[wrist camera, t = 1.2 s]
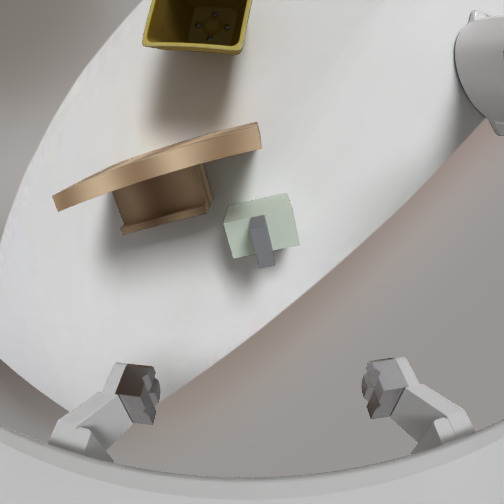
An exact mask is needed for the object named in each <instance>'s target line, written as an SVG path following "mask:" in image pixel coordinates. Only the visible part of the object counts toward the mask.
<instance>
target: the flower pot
mask: <svg viewBox="0 0 504 504" xmlns="http://www.w3.org/2000/svg"><path fill="white" fill-rule="evenodd" d="M251 4H252V0H152V2H151V6H150V10H149V14H148V18H147V22H146V26H145V30H144V34H143V40H142V44H143V46H145V47H151V48H157V49H163V50H186V51H203V52H215V53H224V54H231V55H237V54H239V53H240V52H241V51H242V48H243V45H244V38H245V33H246V28H247V23H248V18H249V13H250V9H251ZM214 12H217V13H218V15H217V16H213V13H214ZM197 23H200V24H201V26H200V27H196V24H197ZM226 25H229V26H230V28H229V29H225V26H226ZM209 36H212V38H213V39H212V40H211V41H209V40H208V37H209Z"/></svg>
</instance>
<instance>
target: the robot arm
mask: <svg viewBox="0 0 504 504" xmlns="http://www.w3.org/2000/svg"><path fill="white" fill-rule="evenodd" d="M455 61H456V67H457V72H458V75H459V78H460V81H461V84H462V86H463V88H464V90H465V92H466V94H467V96H468V98H469V99H470V101H471V102H472V103H473V105H474V106H475V107H476V108H477V109H478V110H479V111H480V112H481V113H482V114H483V115H484V116H485V117H486V118H487V119H488V120H489V122H490V124H491V126H492V128H493V129H494V131H495V133H496V134H497V135H499V136H504V15H500V16H492V15H490V14H488V13H486V12H484V11H482V10H480V9H477V10H473V11H472V13H471V16H470V21H469V23H468V24H467V25H466V26H465V27H464V28H463V29H462V30H461V31H460V33H459V35H458V37H457V40H456V45H455ZM366 369H367V373H366V374H365V375H364V376H363V379H362V393H363V396H364V398H365V399H366V400H368V401H369V402H368V405H367V408H368V412H369V415H370V418H371V419H376V418H382V417H388V416H390V417H391V418H392V419H393V420H394V421H395V422H396V423H397V424H398V425H400V426H401V427H402V428H403V429H404V430H405V431H406V432H407V433H408V434H409V435H410V436H412V437H413V438H414V439H415V440H416V441H417V442H418V444H417V445H416V447H415V448H414V450H413V451H412V452H411V455H408V456H405V457H401V458H397V459H393V460H389V461H385V462H381V463H377V464H372V465H367V466H362V467H357V468H351V469H345V470H338V471H332V472H324V473H316V474H307V475H297V476H296V475H295V476H280V477H211V476H197V475H186V474H185V475H184V474H176V473H168V472H161V471H153V470H147V469H141V468H136V467H131V466H125V465H120V464H116V463H114V461H113V459H112V458H111V457H110V456H109V454H108V453H107V452H106V450H107V449H108V448H109V447H110V446H111V445H112V444H113V443H114V442H115V441H116V440H117V439H118V438H119V437H120V436H121V435H122V434H123V433H124V432H125V431H126V430H127V429H128V428H129V427H130V426H131V425H132V424H133V423H140V424H149V425H153V422H154V419H155V415H156V410H155V407H154V406H155V405H156V404H158V403H159V399H160V385H159V381H158V380H157V379H156V378H155V373H156V372H155V370H154V367H152V366H144V365H135V364H126V363H118V362H117V363H116V364H115V365H114V366H113V369H112V371H111V373H110V375H109V378H108V380H107V382H106V384H105V387H104V389H103V391H102V392H98V393H97V394H95V395H94V396H92V397H91V398H89V399H88V400H87V401H85V402H84V403H82V404H81V405H79V406H78V407H77V408H75V409H74V410H72V411H71V412H69V413H68V414H66V415H65V416H64V417H62V418H61V419H59V420H58V422H57V424H56V426H55V429H54V431H53V433H52V435H51V437H50V440H49V442H48V444H46V443H43V442H41V441H38V440H35V439H33V438H31V437H28V436H26V435H23V434H20V433H18V432H16V431H14V430H12V429H9V428H7V427H5V426H3V425H1V424H0V504H504V419H503V420H501V421H499V422H497V423H495V424H492V425H491V426H488V427H486V428H484V429H481V430H479V431H477V432H475V430H474V428H473V426H472V424H471V422H470V420H469V418H468V416H467V414H466V413H465V411H464V409H462V408H460V407H459V406H457V405H456V404H454V403H452V402H451V401H449V400H448V399H446V398H444V397H443V396H441V395H440V394H438V393H437V392H435V391H433V390H432V389H430V388H429V387H427V386H426V385H424V384H420V383H419V381H418V380H417V378H416V376H415V374H414V372H413V370H412V368H411V366H410V364H409V362H408V361H407V359H406V357H404V356H401V357H394V358H388V359H381V360H374V361H369V362H368V364H367V367H366Z"/></svg>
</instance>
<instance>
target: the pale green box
mask: <svg viewBox="0 0 504 504" xmlns="http://www.w3.org/2000/svg"><path fill="white" fill-rule="evenodd" d="M223 225H224V228H225V232H226V235H227V238H228V242H229V245H230V249H231V252H232V255H233V259H234V258H239V257H244V256H249V255H253V254H256V256H257V259H258V263H259V267H260V268H264V267H269V266H274V256H273V250H278V249H283V248H287V247H292V246H297V245H300V244H299V239H298V234H297V229H296V223H295V218H294V213H293V208H292V205H291V203H290V200H289V197H288V194H287V193H283V194H278V195H274V196H269V197H264V198H260V199H255V200H251V201H246V202H242V203H238V204H233V205H229V206H228V209H227V212H226V216H225V219H224V222H223Z"/></svg>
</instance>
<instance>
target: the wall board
mask: <svg viewBox="0 0 504 504" xmlns="http://www.w3.org/2000/svg"><path fill="white" fill-rule="evenodd" d="M258 149H262V147H261V137H260V132H259V128H258V123H257V122H255V123H250V124H246V125H242V126H238V127H234V128H230V129H226V130H222V131H218V132H214V133H210V134H207V135H203V136H200V137H196V138H193V139H189V140H186V141H182V142H179V143H176V144H173V145H170V146H166V147H163V148H160V149H157V150H154V151H151V152H148V153H145V154H142V155H140V156H137V157H134V158H131V159H128V160H126V161H123V162H120V163H118V164H115V165H112V166H110V167H108V168H106V169H104V170H102V171H100V172H98V173H96V174H94V175H92V176H89V177H87V178H85V179H84V180H82V181H80V182H78V183H76V184H74V185H72V186H70V187H68V188H66V189H64V190H62V191H61V192H59V193H57V194H55V195H53V196H52V197H53V200H54V202H55V205H56V208H57V210H58V212H59V211H61V210H64V209H66V208H69V207H71V206H74V205H76V204H79V203H81V202H84V201H87V200H89V199H92V198H95V197H97V196H100V195H103V194H106V193H108V192H111V191H112V192H113V195H114V198H115V201H116V203H117V206H118V209H119V212H120V214H121V217H122V220H123V222H124V225H123V226H122V227H121V228H120V229H121V231H122V234H123V235H124V234H128V233H131V232H135V231H139V230H143V229H146V228H150V227H154V226H158V225H162V224H165V223H169V222H173V221H177V220H181V219H185V218H189V217H193V216H197V215H201V214H206V213H207V211H208V209H209V207H210V205H211V203H212V201H213V196H212V192H211V189H210V185H209V182H208V178H207V175H206V171H205V168H204V164H203V163H205V162H209V161H213V160H217V159H221V158H224V157H228V156H233V155H237V154H241V153H245V152H249V151H254V150H258Z"/></svg>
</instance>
